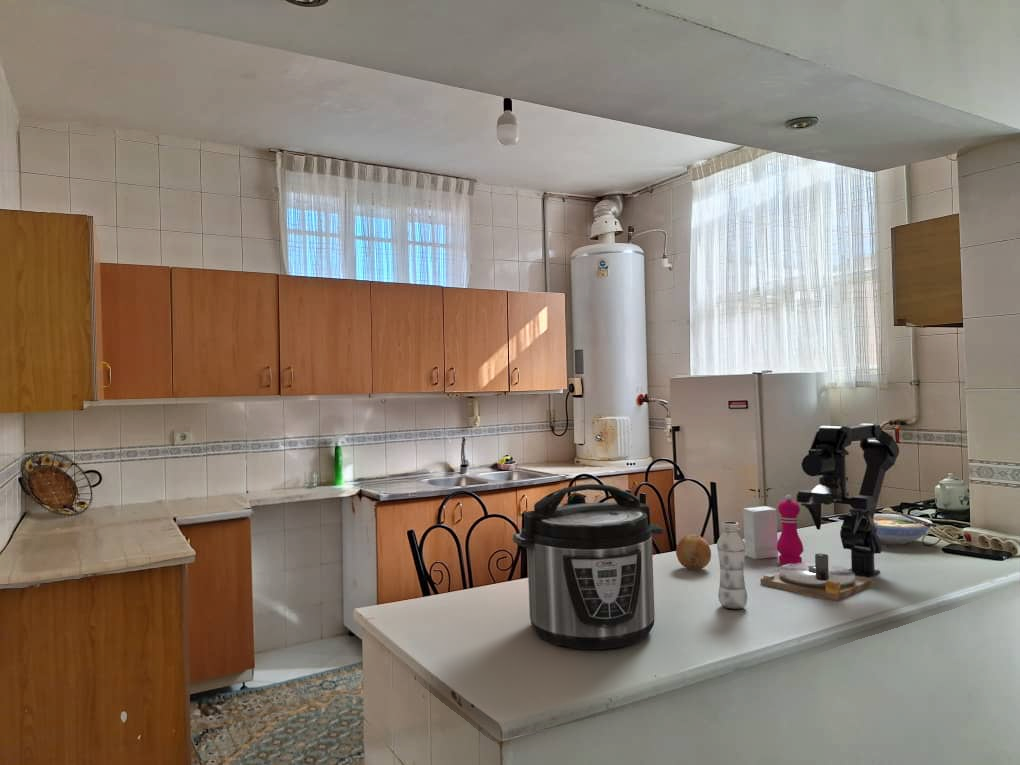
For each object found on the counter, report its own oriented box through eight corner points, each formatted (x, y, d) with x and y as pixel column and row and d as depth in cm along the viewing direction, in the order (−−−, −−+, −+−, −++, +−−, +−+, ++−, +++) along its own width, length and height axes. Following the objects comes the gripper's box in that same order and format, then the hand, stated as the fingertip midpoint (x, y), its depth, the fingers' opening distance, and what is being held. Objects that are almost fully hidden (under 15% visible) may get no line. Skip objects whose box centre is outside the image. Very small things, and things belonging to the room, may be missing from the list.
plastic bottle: (733, 613, 158) (731, 526, 158) (712, 605, 164) (710, 521, 164) (753, 609, 161) (751, 523, 161) (732, 601, 167) (730, 519, 167)
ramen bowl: (842, 534, 239) (841, 510, 239) (912, 534, 236) (912, 510, 236) (870, 550, 214) (869, 524, 214) (949, 551, 211) (948, 525, 211)
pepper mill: (806, 566, 197) (804, 496, 198) (779, 565, 199) (777, 496, 199) (800, 560, 205) (799, 493, 205) (775, 559, 206) (773, 492, 206)
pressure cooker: (501, 647, 141) (498, 492, 141) (545, 605, 167) (542, 475, 167) (648, 665, 130) (644, 497, 130) (670, 618, 156) (667, 478, 156)
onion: (707, 565, 201) (707, 530, 202) (714, 574, 192) (713, 538, 192) (674, 564, 202) (673, 531, 203) (679, 573, 193) (678, 538, 193)
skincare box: (767, 553, 214) (766, 505, 214) (779, 557, 208) (778, 508, 208) (743, 555, 212) (742, 507, 212) (754, 559, 206) (753, 510, 206)
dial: (774, 567, 190) (774, 539, 190) (845, 570, 186) (844, 541, 186) (785, 586, 173) (784, 555, 173) (863, 589, 168) (862, 557, 168)
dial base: (799, 570, 193) (799, 556, 193) (873, 584, 178) (872, 569, 178) (760, 584, 181) (760, 569, 181) (836, 601, 165) (835, 584, 165)
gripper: (785, 473, 185) (786, 531, 184) (855, 479, 170) (857, 542, 170) (805, 469, 192) (807, 525, 191) (875, 474, 177) (877, 535, 177)
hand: (835, 531), depth 182 cm, fingers open, 9 cm apart
